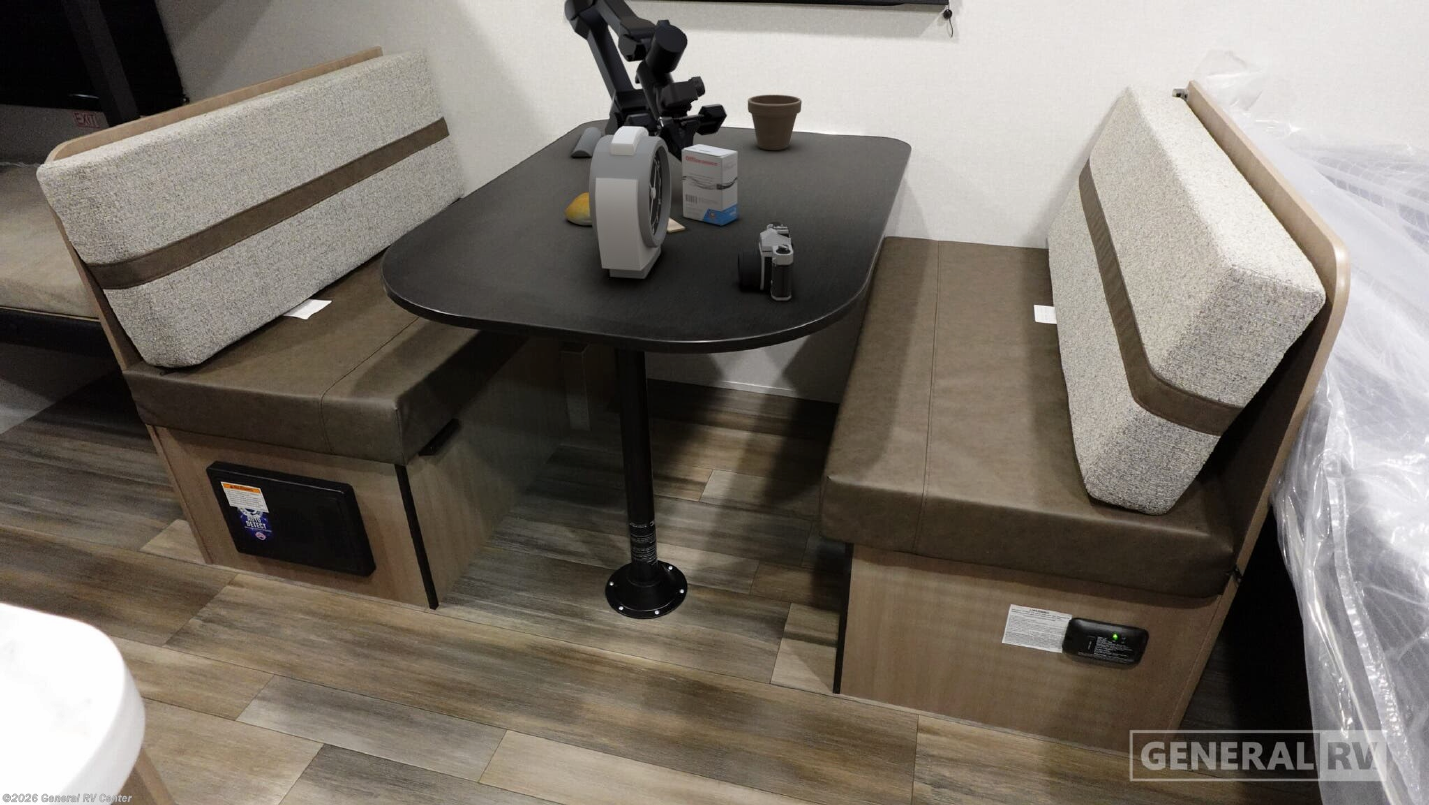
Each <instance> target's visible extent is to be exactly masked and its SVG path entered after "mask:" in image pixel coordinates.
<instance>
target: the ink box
mask: <svg viewBox="0 0 1429 805" xmlns="http://www.w3.org/2000/svg"><path fill="white" fill-rule="evenodd" d="M738 153H739V152H738V151H737V150H731V149H726V148H721V147H717V146H711V145H706V144H703V143H702V144H701V143H698V144H693V146H691V147H687V148H684V149H683V150H682V163H681V175H682V176H681V177H682V178H681V179H682V211H683V212H682V214H683V215H682V216H683V217H684V218H686V219H691V220H696V221H700V222H704V223H709V224H712V225H717V226H721V227H722V226H724V225H727V224H729V223H731V222H733V221H735V220H737V219H738V179H739V178H738V157H739V156H738Z"/></svg>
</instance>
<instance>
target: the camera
mask: <svg viewBox="0 0 1429 805" xmlns="http://www.w3.org/2000/svg"><path fill="white" fill-rule="evenodd" d="M790 233H791V231H790V229H789V227H788V226H786V225H785V224H783V223H781V222H779V221H772V222H769V224H768V225H767V226H766V228H765V229H764V231H762V232H760V233H759V242H758V248H753V249H752V250H749V249H743V250H742V252H738V254H737V281H738V284H742V286H743V287H748V286H754V287H756V288H758V287H759V288H760V290H761V291H770V294H771V298H772V299H773V300H775V301H788V300H790V299H791V298H792V288H793V286H792V285H793V267H794V266H793V265H794V244H795V243H794V240H793V238H792V237H791V236H790Z"/></svg>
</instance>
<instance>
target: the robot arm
mask: <svg viewBox="0 0 1429 805" xmlns="http://www.w3.org/2000/svg"><path fill="white" fill-rule="evenodd" d="M563 10H564V16H565V19H566V21H568V22H569V25H570V26H571V28H572V30H573V32H574V33H575V34H576V35H577V36H579V37H581V38H582V39H584V40H585V41H586V42H587V44H588V47H589V49H590V52H591V54H592V56H593V59H594V61H595V64H596V66H597V69H598V71H599V73H600V75H601V78H602V80H603V83H604V85H605V88H606V90H607V92H608V95H609V98H610V100H611V105H610V109H609V112H608V116H609V118H608V120H607V123H606V125H605V127H604V136H606V135H615V133H616V132H617V131H618V129H619V128H621V127H622V126H632V127H644V128H645V129H647V131H648V136H650V137H655V135H656V137H660V138H661V139H663V140H664V141H665V143H666V145H667V148H668V152H669V154H671V155H672V157H674V158H675V159H676V160H677V161H679V162H680V163H681V164H682V150H683V149H684V148H687V147H691V146H694V137H695V135H696V133H697V134H698V135H700V136H709V135H715V134H716V133H718V132H719V130H720V128H722V125H723V123H724V122H725V120H726V119H727V118H728V113H727V111H726V108H725V107H724V106H723V104H721V103H713V104H712V103H711V104H706V105H702V106H701V107H700V109H699V111H698V113H697V114H690V115H689V114H688V112H691V110H692V108H693V105H692V104H693V102H697V101H699V98H701V97H703V96H704V95H705V94H706V87H705V83H704V81H703V79H702V77H701V75H699V76H698V75H697V76H691V78H689V79H687V80H682V81H675V80H674V77H673V75H672V73H673V72H674V71H676V69H677V68H678V66H679V63H681V62H680V61H681V59H682V57H683V55H684V53H685V51H686V49H687V47H688V42H689V40H688V37H687V34H686V33H685V32H684V31H683V30H682V29H681V28H680V27H678V26H676V25H674V24H671V22H670V19H667V18H666V19H658V20H657V22H656V24H655V23H654V22H652V20H649V19H645V18H643V17H639V16H638V15H637V14H636V13H635V12H634V10H633V9H632V8H631V7H630V5H628V3H627V2H626V1H625V0H565V2H564V6H563ZM609 27H610V28H609ZM610 29H611V30H612V31H613V32H614V33H615V35H616V36H617V38H618V40H617V44H616V43H615V40H614V37H613V35H612V33H611V30H610ZM620 54H621V55H620ZM621 56H622V57H623V59H624V60H625V61H626V62H628V63H634V62H639V63H638V65H637V67H636V70H635V76H634V84H636V85H640V87H641V88H635V87H634V85H633V83H632V80H631V78H630V76H629V72H628V71H627V68H626V66H625V64H624V61H623V59H622V57H621Z"/></svg>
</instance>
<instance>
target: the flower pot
mask: <svg viewBox="0 0 1429 805" xmlns="http://www.w3.org/2000/svg"><path fill="white" fill-rule="evenodd" d="M802 102H803V101H802V99H801V98H799V97H798V96H794V95H789V94H788V95H787V94H760V95H754V96H751V97H749V98H748V99H747V112H748V113H750V114H751V118H752V123H753V128H754V133H755V138H756V143H757V146H758V148H760V149H762V150H764V151H781V150H786V149H787V148H788V147H789V145H790V142H791V139H792V134H793V130H794V127H795V124H796V119H797V117H798V114H800V113H801V112H802Z"/></svg>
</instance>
